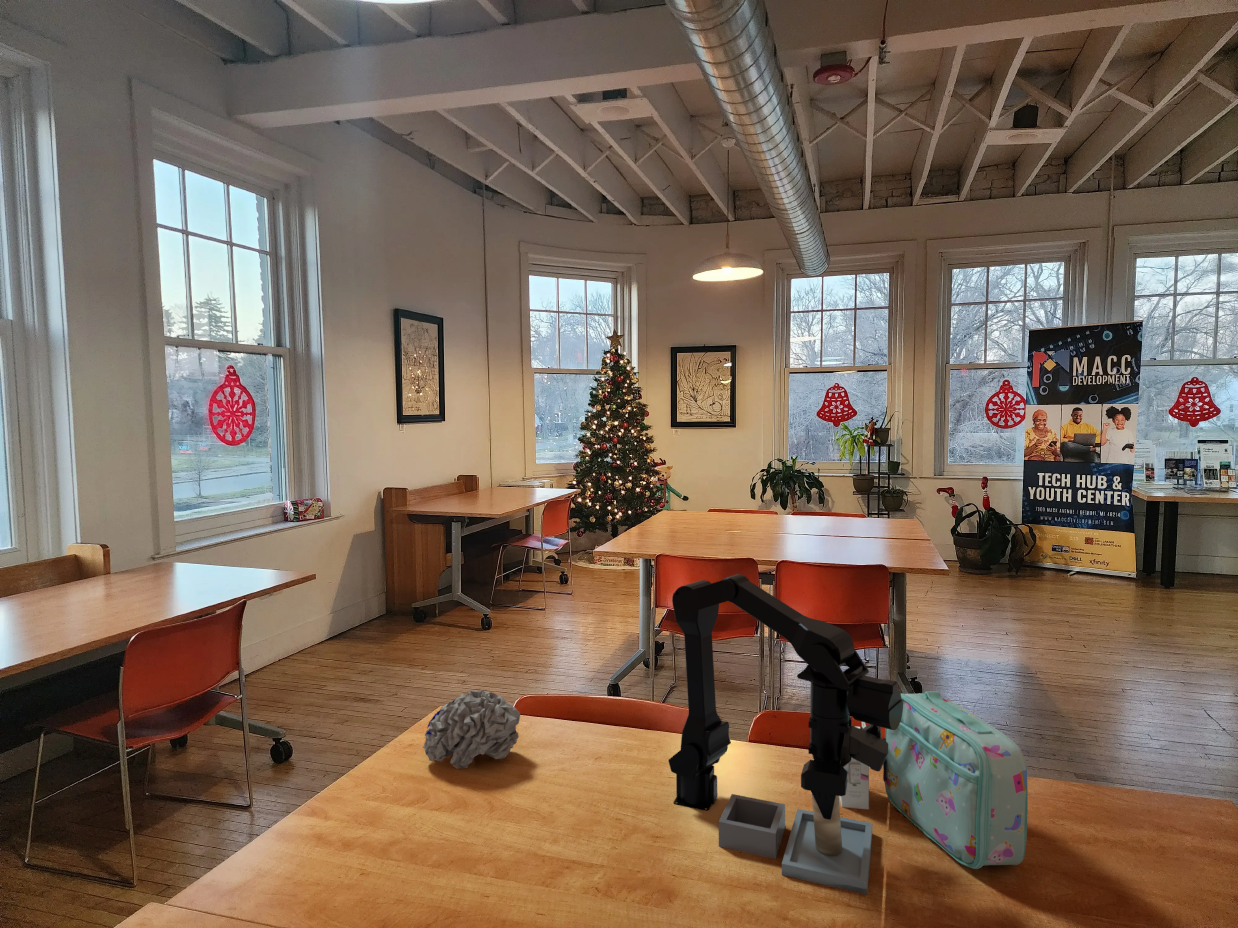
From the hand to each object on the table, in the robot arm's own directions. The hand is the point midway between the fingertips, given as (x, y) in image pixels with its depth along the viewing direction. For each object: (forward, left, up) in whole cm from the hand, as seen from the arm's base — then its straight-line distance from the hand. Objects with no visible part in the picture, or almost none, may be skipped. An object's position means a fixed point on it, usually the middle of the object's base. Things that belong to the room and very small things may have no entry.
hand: (829, 809), depth 108 cm
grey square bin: (-12, 0, -8) cm, 14 cm away
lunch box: (+17, +14, -8) cm, 23 cm away
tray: (0, 0, -8) cm, 8 cm away
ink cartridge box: (+2, +19, -8) cm, 21 cm away
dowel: (0, 0, -6) cm, 6 cm away
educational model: (-71, +7, -8) cm, 72 cm away
